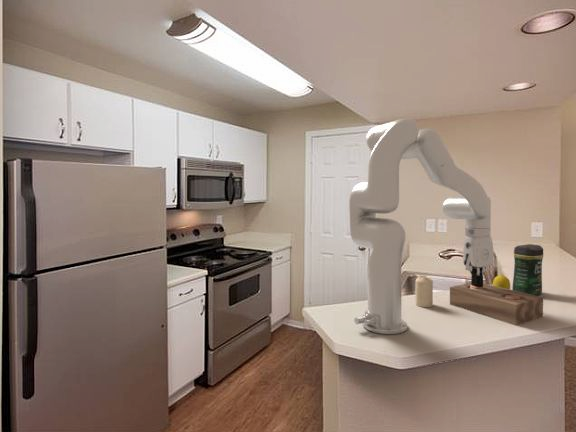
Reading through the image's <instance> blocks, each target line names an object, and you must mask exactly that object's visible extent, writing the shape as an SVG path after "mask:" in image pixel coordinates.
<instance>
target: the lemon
mask: <svg viewBox="0 0 576 432" xmlns="http://www.w3.org/2000/svg"><path fill="white" fill-rule="evenodd" d="M492 286H497V287H501V288H505V289H509V290H511V282H510V280H509V278H508V277H507V276H505V275H503V274H500V275H497V276H496V277H494V279H493V281H492Z"/></svg>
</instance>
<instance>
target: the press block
mask: <svg viewBox="0 0 576 432" xmlns="http://www.w3.org/2000/svg"><path fill="white" fill-rule="evenodd" d="M470 285H471V282H469V283H463V284H459V285H453V286H449V305H451V306H454V307H457V308H460V307H461V308H460V309H463V308H464V309H463V310H466V309H467V310H466V311H469V310H470V311H469V312H473V313H476V314H479V315H481V316H486V317H488V318H491V319H495V320H498V321H501V322H504V323H506V324H507V323H508V324H510V325H514V326H517V325H520V324H525V323H527V322H531V321H533V320H536V319H537V320H538V319H539V318H542V317H544V297H542V296H539V295H531V294H527V293H522V292H518V291H514V290H512V289H510V290H509V289H505V288H501V287H497V286H493V284H492V285H491V284H487V283H484V282H483V290H475V289H471V288H470ZM506 295H515V296H519V297H520V298H521V299H519V300H514V299H510V298H506V297H505V296H506Z"/></svg>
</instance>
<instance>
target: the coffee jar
mask: <svg viewBox="0 0 576 432" xmlns="http://www.w3.org/2000/svg"><path fill="white" fill-rule="evenodd" d="M513 249H514V250H513V258H514V265H513V266H514V269H513V279H512V287H511V288H512V289H511V290H514V291H518V292H522V293H527V294H531V295H535V296H539V295H542V294H543V276H542V275H543V268H542V267H543V259H544V248H543V246H541V245H539V244H533V243H532V244H531V243H528V244H527V243H526V244H523V245H522V244H521V245H516V246H515V247H514V248H513Z"/></svg>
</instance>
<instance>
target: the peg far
mask: <svg viewBox="0 0 576 432" xmlns="http://www.w3.org/2000/svg"><path fill="white" fill-rule="evenodd" d="M470 288H471V289H475V290H483V287H476V286H472V285H470Z"/></svg>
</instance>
